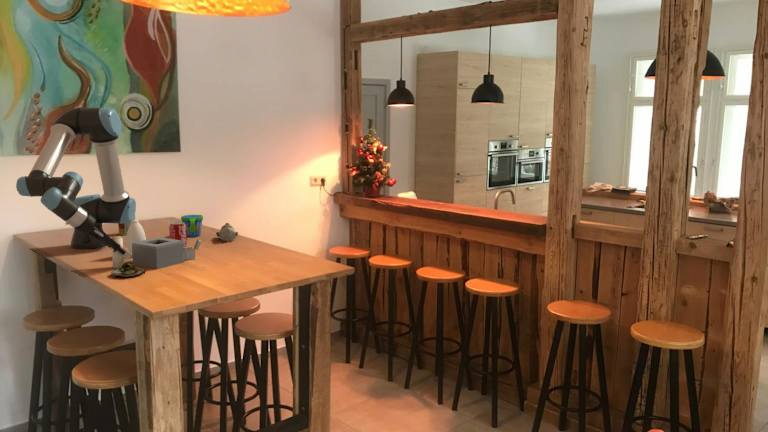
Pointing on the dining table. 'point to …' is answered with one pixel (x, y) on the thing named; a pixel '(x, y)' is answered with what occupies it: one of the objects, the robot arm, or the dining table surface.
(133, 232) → the sauce bottle
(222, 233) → the ceramic sculpture
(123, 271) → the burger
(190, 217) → the snack cup
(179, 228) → the soda can
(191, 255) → the lighter
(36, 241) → the dining table surface
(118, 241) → the coin roll
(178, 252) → the gray square-hole box
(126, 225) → the canned food
